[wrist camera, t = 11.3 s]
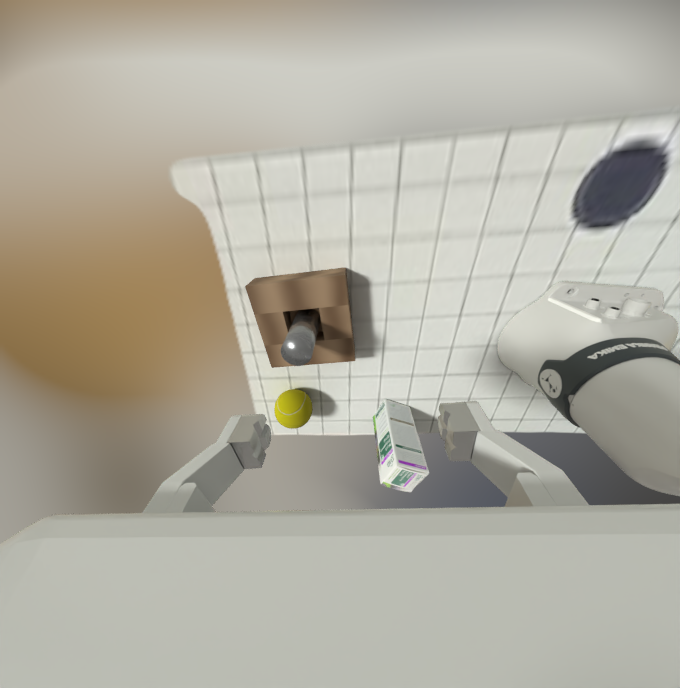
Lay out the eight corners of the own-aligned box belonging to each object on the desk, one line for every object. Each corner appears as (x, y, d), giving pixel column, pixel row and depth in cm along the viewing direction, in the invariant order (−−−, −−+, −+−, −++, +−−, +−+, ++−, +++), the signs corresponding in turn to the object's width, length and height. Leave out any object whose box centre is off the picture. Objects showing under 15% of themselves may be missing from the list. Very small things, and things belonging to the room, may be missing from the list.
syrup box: (384, 397, 49) (395, 465, 37) (411, 406, 50) (430, 475, 38) (372, 416, 52) (378, 485, 40) (398, 424, 53) (412, 494, 40)
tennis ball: (276, 382, 49) (266, 408, 43) (312, 381, 48) (306, 408, 42) (283, 408, 52) (274, 436, 46) (316, 408, 52) (311, 436, 46)
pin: (318, 306, 39) (308, 337, 30) (322, 328, 41) (314, 364, 32) (293, 308, 39) (277, 340, 31) (298, 331, 41) (284, 366, 33)
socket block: (345, 267, 37) (344, 274, 33) (354, 348, 44) (355, 360, 40) (254, 278, 38) (245, 286, 35) (277, 354, 45) (271, 367, 42)
